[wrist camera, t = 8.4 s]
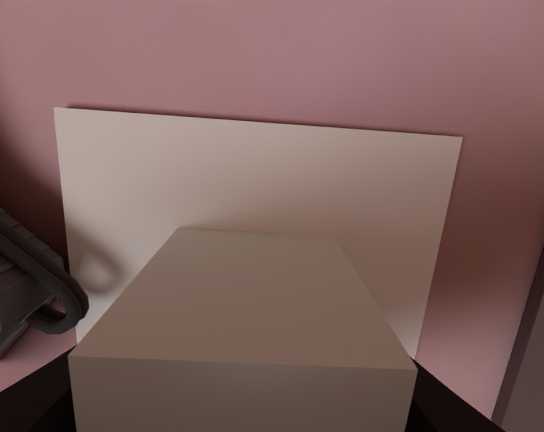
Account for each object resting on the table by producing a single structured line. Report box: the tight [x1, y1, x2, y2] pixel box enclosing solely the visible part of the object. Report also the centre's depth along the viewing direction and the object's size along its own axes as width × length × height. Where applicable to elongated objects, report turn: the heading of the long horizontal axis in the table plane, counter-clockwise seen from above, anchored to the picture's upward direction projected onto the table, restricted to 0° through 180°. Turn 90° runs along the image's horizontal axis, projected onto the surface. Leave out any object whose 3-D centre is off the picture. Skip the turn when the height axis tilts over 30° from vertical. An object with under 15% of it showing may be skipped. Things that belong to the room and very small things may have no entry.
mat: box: [53, 107, 463, 360], centre depth 11 cm, size 12×12×1 cm
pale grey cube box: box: [68, 228, 418, 432], centre depth 8 cm, size 5×5×6 cm
